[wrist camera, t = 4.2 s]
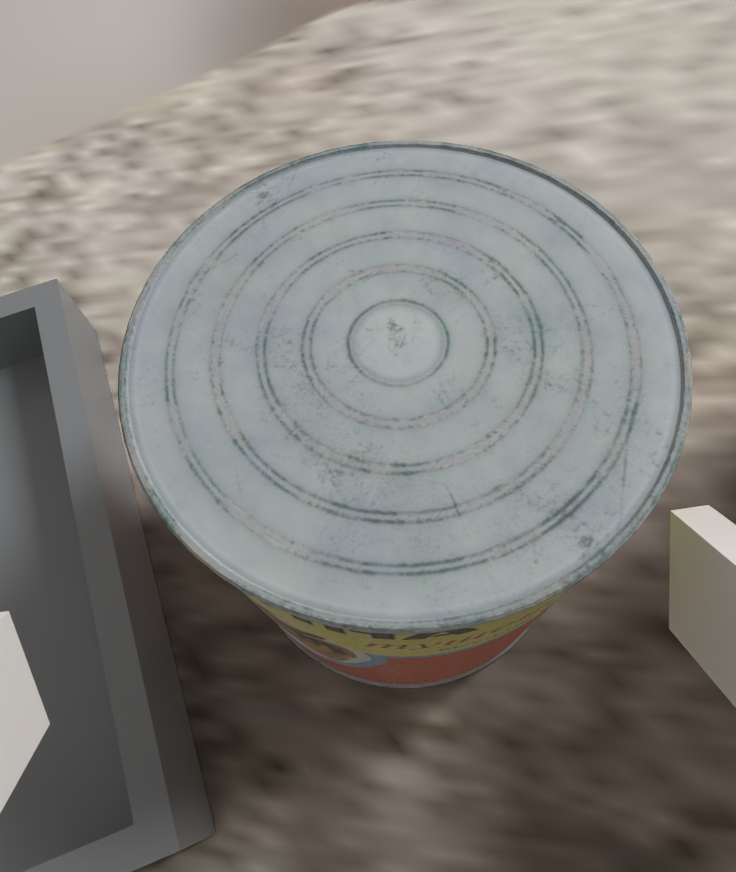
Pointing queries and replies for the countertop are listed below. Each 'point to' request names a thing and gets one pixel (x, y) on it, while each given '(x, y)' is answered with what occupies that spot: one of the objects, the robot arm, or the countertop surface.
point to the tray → (85, 614)
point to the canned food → (405, 400)
